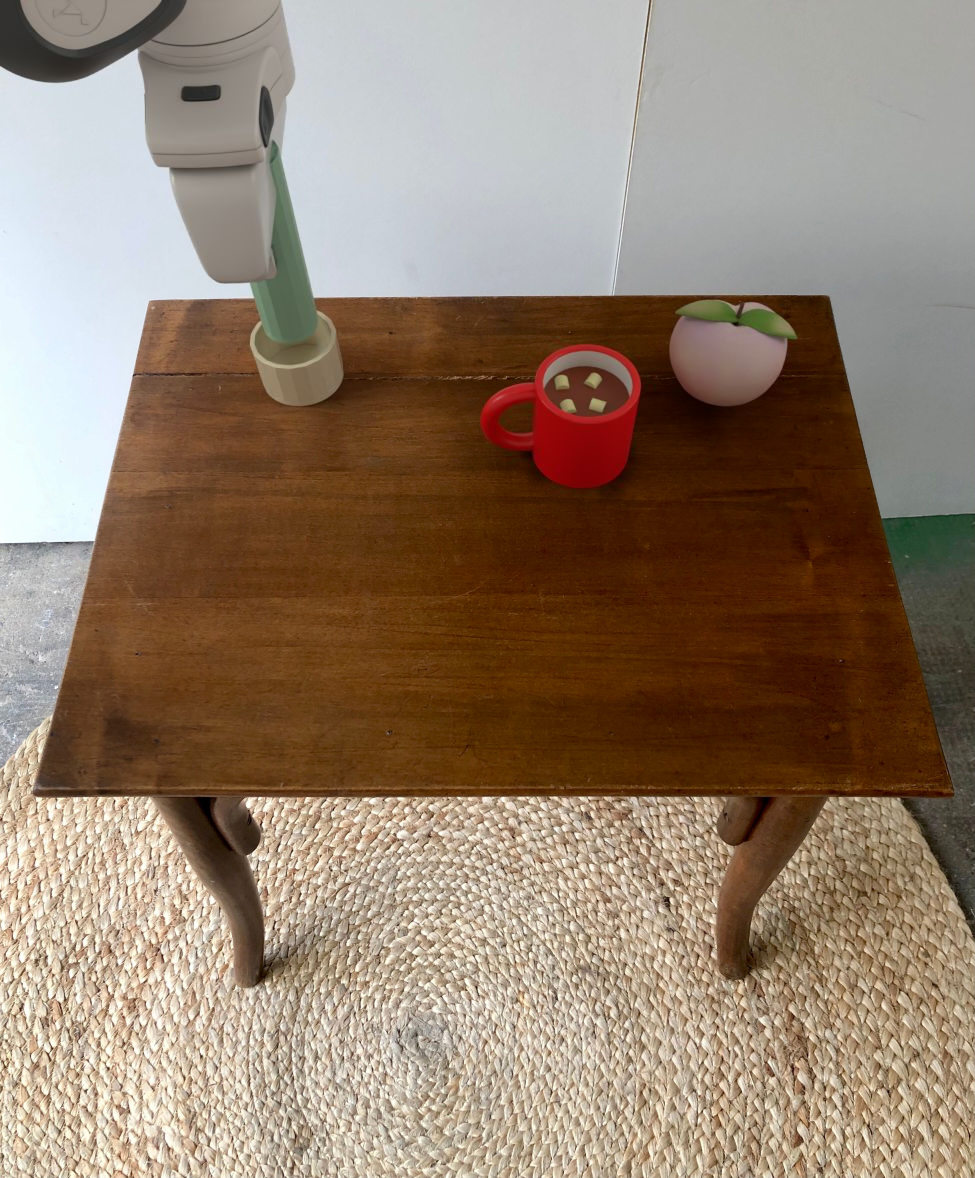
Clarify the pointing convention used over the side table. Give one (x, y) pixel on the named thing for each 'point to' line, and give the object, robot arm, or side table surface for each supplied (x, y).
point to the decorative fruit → (728, 350)
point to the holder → (299, 365)
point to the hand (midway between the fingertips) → (268, 245)
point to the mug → (573, 415)
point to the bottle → (285, 272)
